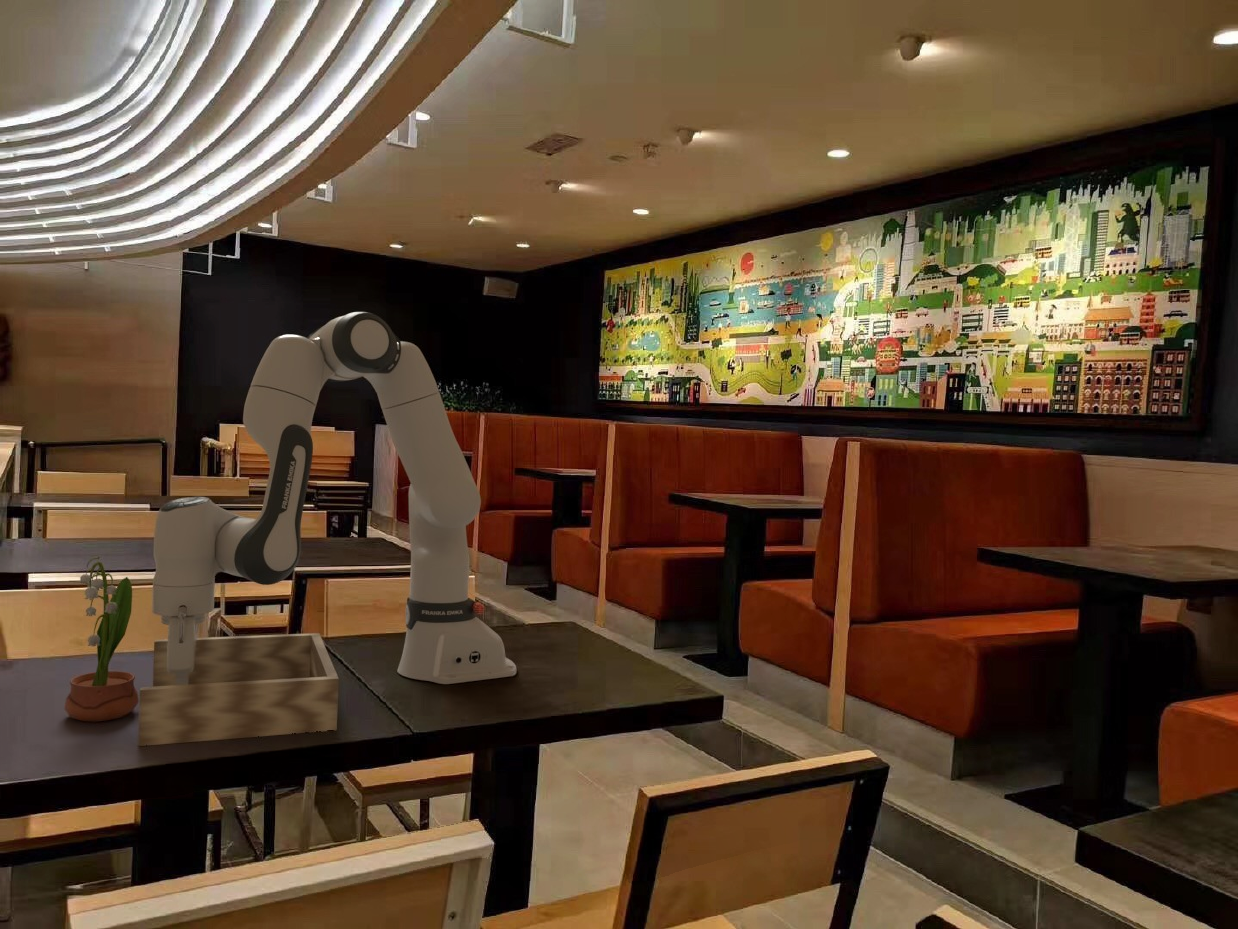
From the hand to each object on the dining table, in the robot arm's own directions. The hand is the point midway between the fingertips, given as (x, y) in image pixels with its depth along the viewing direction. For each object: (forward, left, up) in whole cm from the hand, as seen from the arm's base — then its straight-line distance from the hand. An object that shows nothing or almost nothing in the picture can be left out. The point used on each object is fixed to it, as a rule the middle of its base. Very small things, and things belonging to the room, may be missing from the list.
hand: (182, 686), depth 145 cm
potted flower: (+11, 0, -4) cm, 12 cm away
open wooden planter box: (-9, 0, -4) cm, 9 cm away
